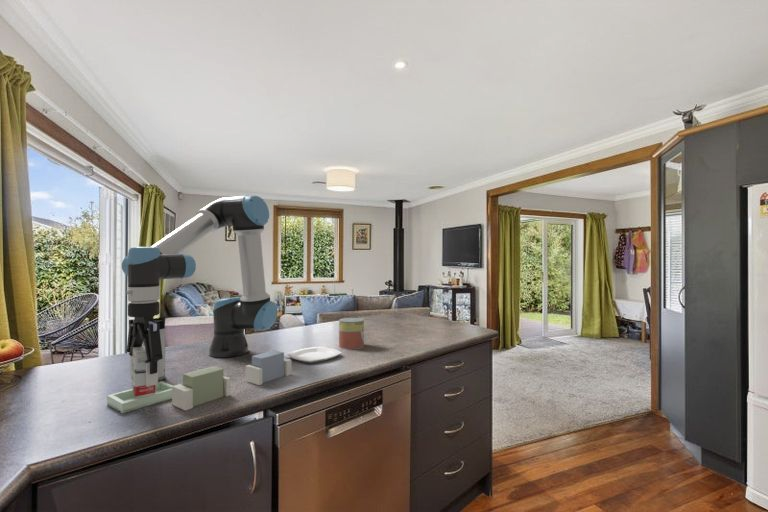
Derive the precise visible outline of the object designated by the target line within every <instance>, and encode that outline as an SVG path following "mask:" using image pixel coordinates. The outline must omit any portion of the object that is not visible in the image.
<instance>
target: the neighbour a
mask: <svg viewBox="0 0 768 512" xmlns="http://www.w3.org/2000/svg"><path fill="white" fill-rule="evenodd" d="M223 376H224V368H221V367H220V366H215V365H214V366H213V365H212V366H209V367H204V368H201V369H196V370H192V371H190V372H185V373H183V374H182V385H183V386H186V387H188V388H191V389H193V407H197V406H199V405H202V404H205V403H208V402H211V401H214V400H217V399H221V398H223V397H224V395H223Z"/></svg>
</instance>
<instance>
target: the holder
mask: <svg viewBox="0 0 768 512" xmlns="http://www.w3.org/2000/svg"><path fill="white" fill-rule="evenodd" d="M284 376H286V377H288V376H292V359H288V358H285V357H284ZM245 382H248V383H249V384H253V385H256V386H261V385H263V383H262V368H259V367H255V366H252V364H248V365H245ZM231 385H232V384H231V377H228V376H226V375H223V397H224V396H225V397H230V396H231V387H232V386H231ZM171 404H172V406H174V407H176V408H179V409H181V410H183V411H184V412H186V411H188V410H191V409H193V408H194V406H193V389H191V388H188V387H186V386H183V384H181V383H178V384H175V385H173V386H172V399H171Z"/></svg>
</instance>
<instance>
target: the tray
mask: <svg viewBox="0 0 768 512" xmlns="http://www.w3.org/2000/svg"><path fill="white" fill-rule="evenodd" d="M172 386H174V385H172V384H170V383H169V382H166V381H163V380H160V381H158V384H156V385H155V393H151V394H146V395H141V396H136V397H135V395H134V393H133V390H132V388H131V389H127V390H123V391H119V392H115V393H112V394H111V393H110V394H109V395H108V394H107V406H109V407H111V408H113V409H114V410H116V411H117V412H119V413H121V414H125V413H128V412H132V411H135V410H139V409H142V408H145V407H149V406H151V405H155V404H158V403H162V402H165V401H168V400H172Z"/></svg>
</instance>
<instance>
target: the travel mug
mask: <svg viewBox="0 0 768 512" xmlns="http://www.w3.org/2000/svg"><path fill="white" fill-rule="evenodd" d="M153 318H154V323H160V338H161V347H162V356H163V358H162V359H160V360H159V361H158V382H160V381H163V380H164V379H165V378H166V317H164V316H160V317H156V318H155V317H153ZM142 347H145V345H144V341H143V344H142ZM162 379H163V380H162ZM159 380H160V381H159Z"/></svg>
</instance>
